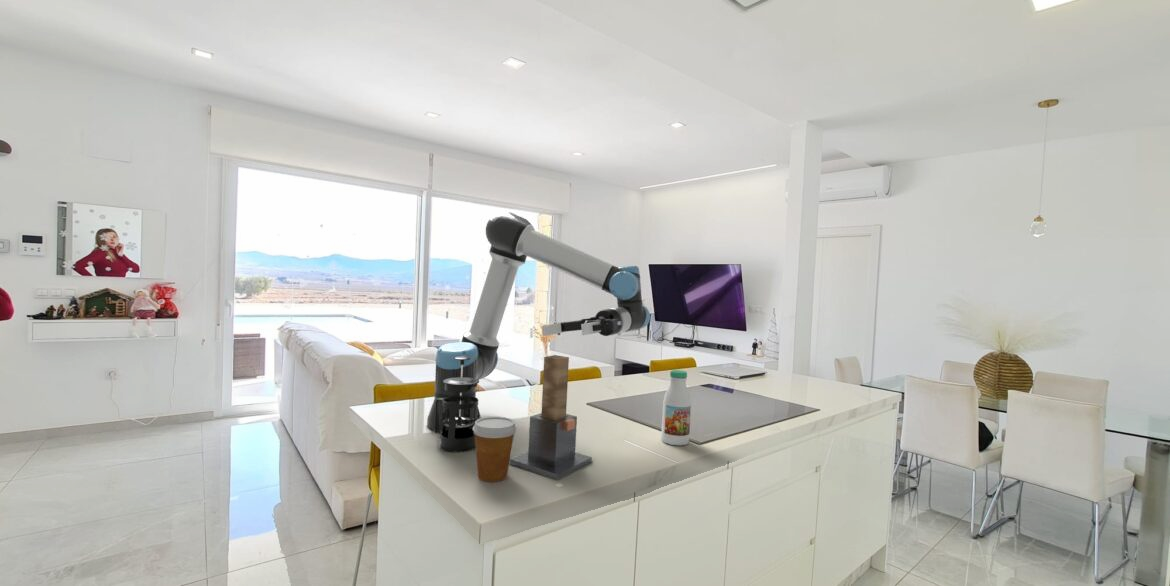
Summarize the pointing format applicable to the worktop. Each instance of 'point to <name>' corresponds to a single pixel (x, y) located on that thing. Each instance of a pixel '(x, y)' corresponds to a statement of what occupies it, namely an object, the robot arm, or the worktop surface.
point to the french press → (459, 427)
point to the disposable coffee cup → (493, 447)
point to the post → (555, 387)
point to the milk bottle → (676, 410)
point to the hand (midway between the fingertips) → (562, 330)
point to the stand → (552, 448)
